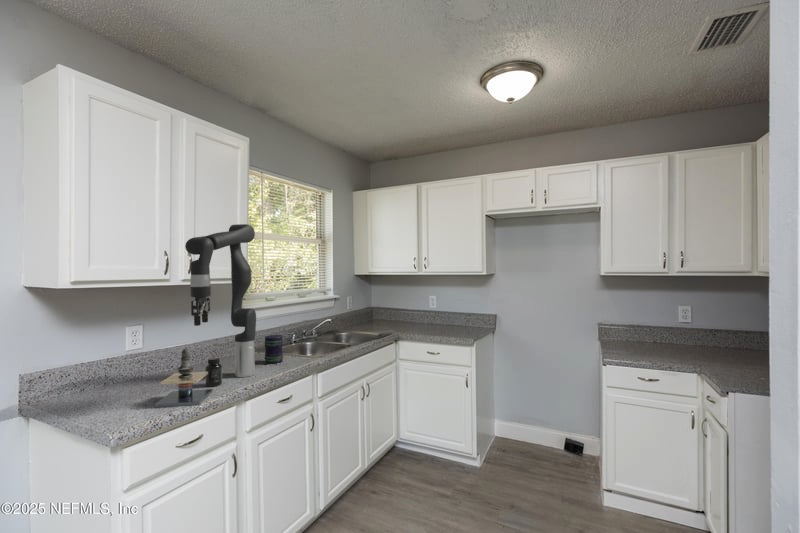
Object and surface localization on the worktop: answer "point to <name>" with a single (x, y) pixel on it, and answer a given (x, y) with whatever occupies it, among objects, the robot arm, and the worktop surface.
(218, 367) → the supplement bottle
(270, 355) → the storage jar
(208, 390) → the stand
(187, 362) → the stone finial
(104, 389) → the worktop surface
